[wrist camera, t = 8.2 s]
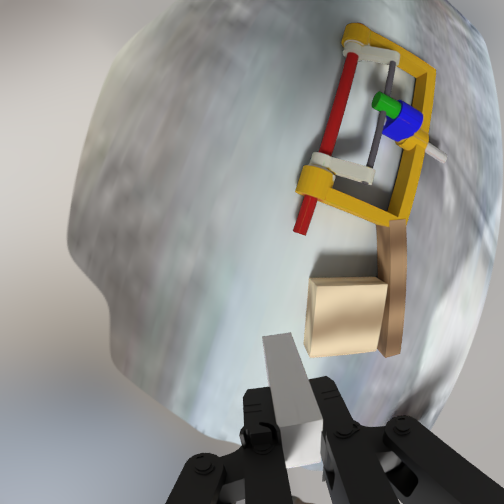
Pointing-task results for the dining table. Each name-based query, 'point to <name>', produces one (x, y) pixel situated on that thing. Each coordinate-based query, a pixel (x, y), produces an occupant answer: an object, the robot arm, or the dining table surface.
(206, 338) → the dining table surface
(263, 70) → the dining table surface
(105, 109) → the dining table surface
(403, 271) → the board
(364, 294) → the block
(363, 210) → the mechanical clamp
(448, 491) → the robot arm
